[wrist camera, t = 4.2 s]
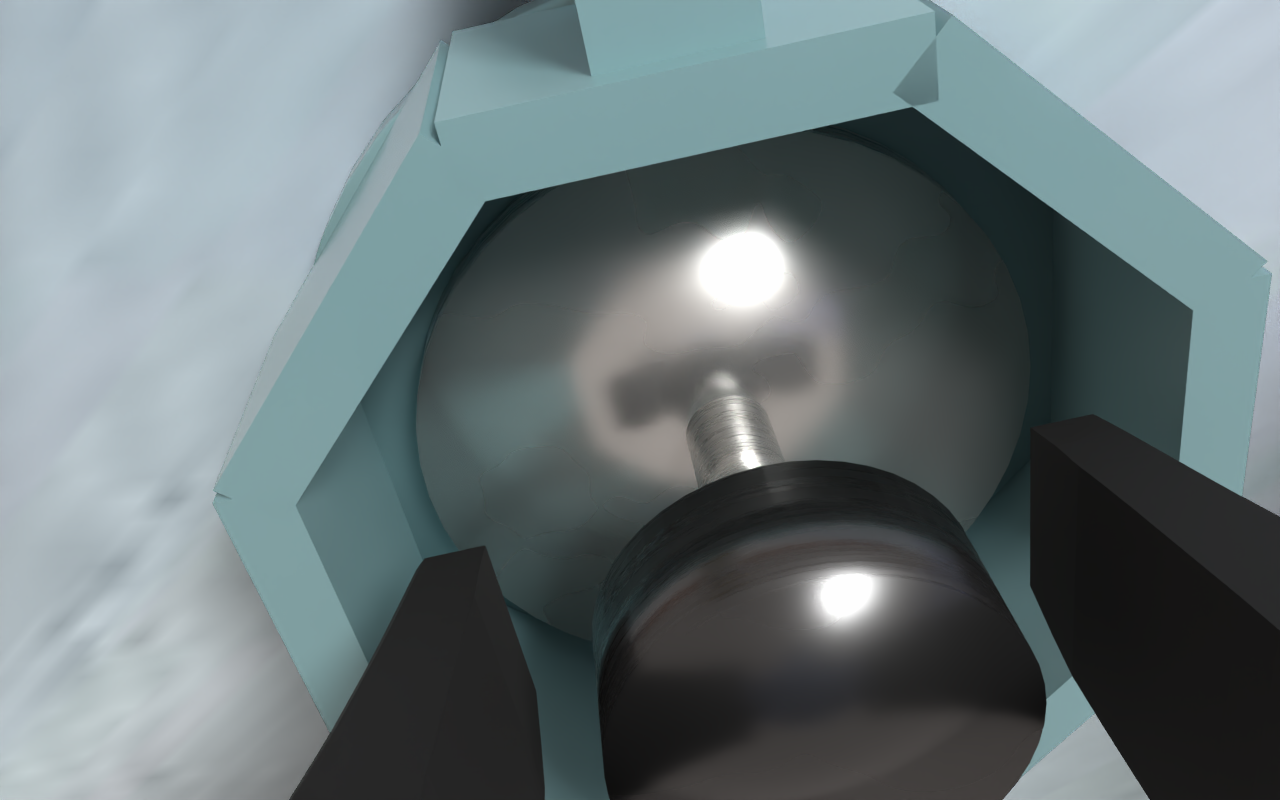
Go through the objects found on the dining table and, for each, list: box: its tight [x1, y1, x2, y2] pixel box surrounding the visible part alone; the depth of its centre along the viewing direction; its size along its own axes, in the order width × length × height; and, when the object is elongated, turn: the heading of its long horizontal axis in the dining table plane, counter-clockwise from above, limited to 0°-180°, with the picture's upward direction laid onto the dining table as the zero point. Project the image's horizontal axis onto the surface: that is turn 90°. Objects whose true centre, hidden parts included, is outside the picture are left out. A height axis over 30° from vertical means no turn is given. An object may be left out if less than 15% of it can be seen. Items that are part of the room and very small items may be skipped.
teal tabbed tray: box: [213, 0, 1272, 800], centre depth 12 cm, size 10×12×4 cm
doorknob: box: [416, 125, 1047, 800], centre depth 11 cm, size 7×7×5 cm
